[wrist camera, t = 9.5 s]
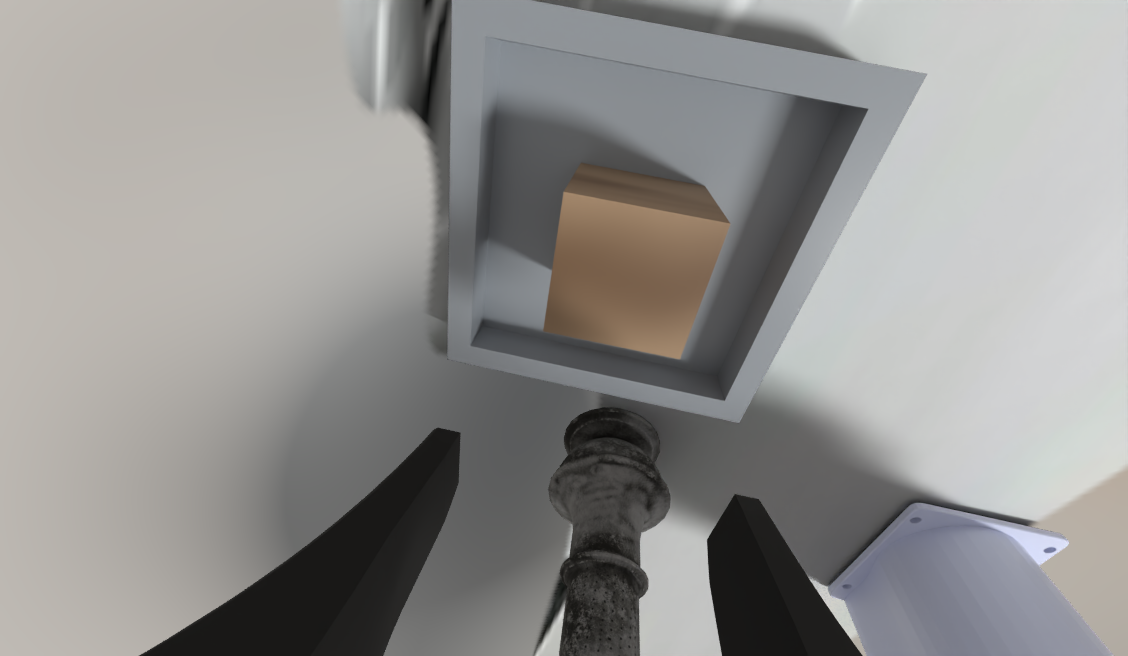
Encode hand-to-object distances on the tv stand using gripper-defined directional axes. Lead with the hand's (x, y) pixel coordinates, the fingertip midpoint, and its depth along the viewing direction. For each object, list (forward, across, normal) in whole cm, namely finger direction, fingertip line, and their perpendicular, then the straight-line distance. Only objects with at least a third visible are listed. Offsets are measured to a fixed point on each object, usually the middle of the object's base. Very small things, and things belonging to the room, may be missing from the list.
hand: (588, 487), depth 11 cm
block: (+9, 0, -4) cm, 10 cm away
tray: (+9, 0, -4) cm, 10 cm away
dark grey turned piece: (+10, -2, +8) cm, 13 cm away
